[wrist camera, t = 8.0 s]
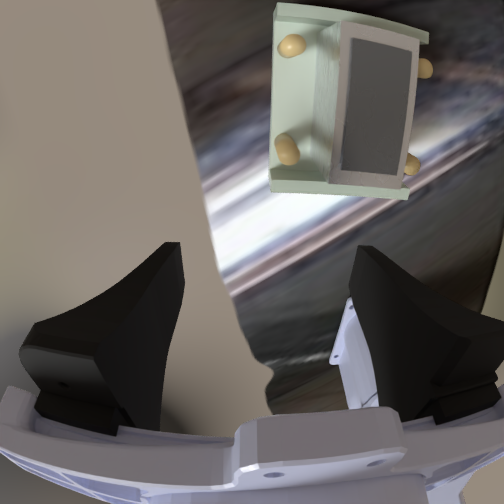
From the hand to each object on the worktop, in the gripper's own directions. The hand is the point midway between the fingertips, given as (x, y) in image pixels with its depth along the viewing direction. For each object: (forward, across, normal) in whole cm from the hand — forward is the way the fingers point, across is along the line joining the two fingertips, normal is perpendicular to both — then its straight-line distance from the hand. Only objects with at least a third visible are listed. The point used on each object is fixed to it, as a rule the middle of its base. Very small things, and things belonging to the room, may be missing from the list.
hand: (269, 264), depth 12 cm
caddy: (+10, -5, -6) cm, 13 cm away
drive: (+9, -5, -6) cm, 12 cm away
